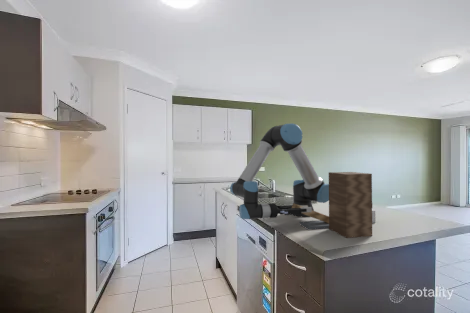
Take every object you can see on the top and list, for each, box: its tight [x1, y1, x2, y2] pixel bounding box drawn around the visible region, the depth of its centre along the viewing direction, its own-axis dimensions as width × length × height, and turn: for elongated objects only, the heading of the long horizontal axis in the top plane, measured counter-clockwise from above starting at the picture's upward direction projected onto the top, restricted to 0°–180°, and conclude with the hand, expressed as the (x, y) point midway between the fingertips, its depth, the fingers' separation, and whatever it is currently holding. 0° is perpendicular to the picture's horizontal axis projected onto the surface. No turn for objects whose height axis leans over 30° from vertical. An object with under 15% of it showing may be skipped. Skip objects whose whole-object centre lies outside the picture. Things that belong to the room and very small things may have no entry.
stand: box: [328, 171, 373, 239], centre depth 118 cm, size 14×14×30 cm
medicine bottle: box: [372, 208, 376, 224], centre depth 138 cm, size 7×7×12 cm
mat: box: [299, 219, 329, 230], centre depth 129 cm, size 14×10×2 cm
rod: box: [291, 203, 329, 223], centre depth 129 cm, size 26×4×4 cm, turn 101°
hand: (309, 208), depth 128 cm, fingers closed on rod, 3 cm apart
